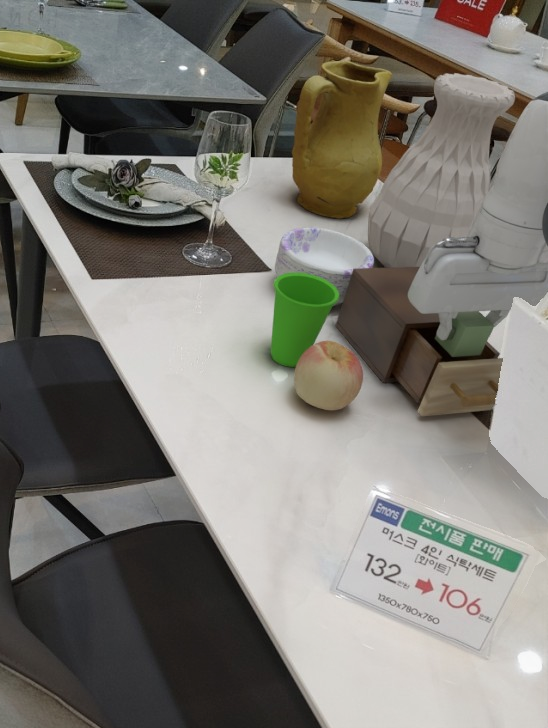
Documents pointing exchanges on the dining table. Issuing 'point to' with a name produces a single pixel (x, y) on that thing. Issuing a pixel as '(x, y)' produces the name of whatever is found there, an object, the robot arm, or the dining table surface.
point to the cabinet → (381, 315)
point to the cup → (299, 314)
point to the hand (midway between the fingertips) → (462, 336)
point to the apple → (328, 376)
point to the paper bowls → (322, 256)
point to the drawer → (446, 375)
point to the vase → (439, 173)
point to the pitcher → (338, 138)
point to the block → (468, 334)
